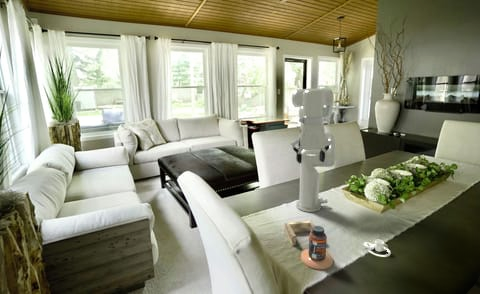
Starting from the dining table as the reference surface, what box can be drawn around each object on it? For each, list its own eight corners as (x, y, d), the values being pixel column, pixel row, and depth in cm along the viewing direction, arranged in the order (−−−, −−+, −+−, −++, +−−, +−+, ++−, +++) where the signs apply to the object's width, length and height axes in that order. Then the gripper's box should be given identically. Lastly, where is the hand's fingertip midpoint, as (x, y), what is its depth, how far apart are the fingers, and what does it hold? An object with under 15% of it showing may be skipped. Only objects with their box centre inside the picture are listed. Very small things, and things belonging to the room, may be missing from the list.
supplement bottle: (316, 264, 89) (317, 234, 87) (304, 254, 94) (305, 226, 92) (329, 258, 92) (330, 229, 89) (317, 250, 97) (318, 222, 95)
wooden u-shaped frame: (311, 228, 113) (311, 220, 112) (321, 242, 103) (321, 233, 102) (284, 231, 112) (284, 222, 111) (292, 245, 101) (292, 236, 101)
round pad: (324, 248, 99) (324, 246, 99) (338, 267, 88) (338, 265, 88) (296, 251, 98) (296, 249, 97) (307, 271, 87) (307, 269, 87)
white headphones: (360, 248, 99) (361, 238, 99) (373, 241, 103) (374, 232, 102) (382, 260, 92) (383, 250, 91) (395, 253, 96) (396, 243, 95)
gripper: (294, 122, 99) (293, 165, 103) (336, 121, 101) (334, 163, 105) (288, 120, 106) (287, 160, 110) (328, 119, 108) (326, 158, 112)
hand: (310, 161), depth 107 cm, fingers open, 9 cm apart
